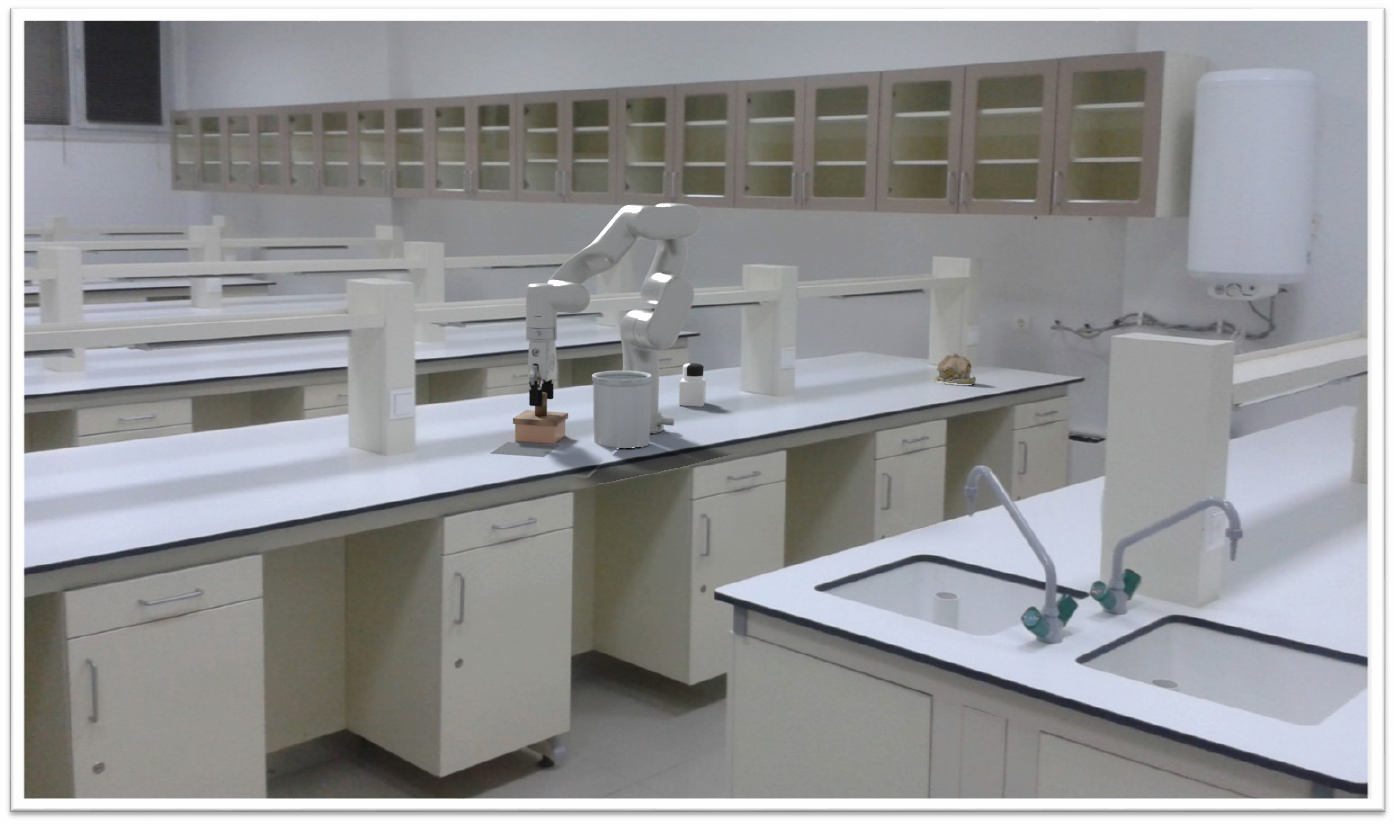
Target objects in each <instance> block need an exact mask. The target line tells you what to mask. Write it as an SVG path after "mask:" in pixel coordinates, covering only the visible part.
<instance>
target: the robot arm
mask: <svg viewBox="0 0 1394 824" xmlns="http://www.w3.org/2000/svg"><path fill="white" fill-rule="evenodd" d="M702 217H703V216H702V213H701V212H700V211H699V209H698V208H697V207H696V206H694V205H692V204H689V203H688V204H687V203H676V202H661V203H658V204H656V205H646V204H645V205H643V204H627V205H625V206H623V207H621V208H620V209H619V210H618V211H617V213H616V214H615V215H614V217H613V218H611V220H610V221H609V222H608V223H607V225H606V226H605V227H604V228H603V229H602V231H601V232H600V233H599V234H598V235H597V236H596V238H594V240H593V241H592V242H591V243H590V244H589V245H588V246H586V247H584V248H583V249H581V250H580V251H578V252H577V253H575V255H573V256H571V257H570V258H568V259H567V260H566V261H565V262H564V263H563V264H562V265H561V266H560V267H559V268H558V269H556V271H555V272H554V273H553V274H552V276H551V277H550V278H549V280H547V282H546V283H545V282H544V283H542V282H538V283H537V282H535V283H530V284H528V285H527V286H526V288H525V340H526V341H528V358H527V359H528V361H527V376H528V380H529V381H528V384H529V387H528V391H529V393H528V394H529V395H528V401H529V402H528V404H529V406H530V407H535V406H542V405H543V398H542V392H544V393H547V400H553V399H554V381H555V380H554V378H556V376H558V367H557V366H558V364H557V360H558V359H557V347H556V341H557V339H558V335H557V334H558V333H557V332H558V329H557V328H558V327H557V325H558V315H557V314H558V313H565V314H578V313H581V312H583V311H584V310H586V309H587V308H588V307H589V305H590V302H591V294H590V292H589V290H588V289H587V288H586V287H585V286H584V285H583V283H585V282H586V281H587V280H589V279H590V278H592V277H594V276H596V275H600V274H603V273H605V272H608V271H610V270H612V269H614V268H616V267H617V266H618V265H620V264H621V261H623V260H624V259H625V257H626V256H627V255H628V254H629V252H630V251H631V249H632V248H634V246H635V245H636V244H637V242H639V240H645V241H656V250H655V255H654V257H653V260H652V263H651V265H650V267H649V269H648V271H647V274H646V276H645V279H644V281H643V283H642V286H641V289H640V297H641V300H642V302H643V303H644V304H645V305H647V306H649V307H651V308H654V310H646V309H641V308H639V309H633V310H631V311H629V312H627V313H626V314H625V315H624V316H623V318H622V319H621V322H620V326H619V327H620V328H619V333H620V335H619V336H620V341H621V348H622V371H639V372H646V373H649V374H651V375H652V381H651V398H650V433H649V435H651V433H652V434H657V433H661V432H663V431H664V427H665V426H672V427H673V426H674V425H675V418H674V417H669V416H668V417H666V416H662V411H659V397H660V395H659V393H660V387H659V386H660V357H659V352H663V351H667V350H669V349H670V348H671V347H673V346H674V345H675V343H676V341H677V340H678V338H679V336H680V334H681V331H682V329H683V327H684V324H685V322H686V320H687V318H688V315H689V313H690V311H691V308H692V306H693V302H694V297H695V292H694V286H693V284H692V282H691V281H690V279H689V278H687V277H686V276H684V275H683V274H684V272H685V269H686V267H687V264H688V260H689V254H690V253H689V245H688V241H687V239H690V238H692V237H694V236H696V235H697V234H698V233H699V231H700V230H701V228H702V225H703V218H702ZM534 316H541V317H534Z"/></svg>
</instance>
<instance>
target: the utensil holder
mask: <svg viewBox="0 0 1394 824" xmlns="http://www.w3.org/2000/svg"><path fill="white" fill-rule="evenodd" d="M591 379H592V398H593V399H592V401H593V402H592V403H593V405H592V406H593V407H592V409H593V411H592V412H593V439H594V440H593V441H594V443H595V444H596V445H599V446H603V447H607V448H608V447H609V448H632V447H641V448H645V447H647V446H648V445H649V443H650V434H649V433H650V398H651V381H652V375H651V374H649V373H646V372H639V371H623V370H606V371H599V372H595V373H593V374H592V375H591ZM644 446H645V447H644Z"/></svg>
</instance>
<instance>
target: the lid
mask: <svg viewBox="0 0 1394 824" xmlns="http://www.w3.org/2000/svg"><path fill="white" fill-rule="evenodd" d="M542 398H543V405H542V406H534V410H528V409H526V410H524V411H523V412H521V413H519V414H517V415H516V416H514V417H513V418H512V424H513V425H515V424H523V425H539V426H555V427H556V426H558V425H559V424H561V423H562V422H563V421H565V422H566V420H567V419H569V412H563V411H562V412H561V411H559V412H558V411H548V399H547V393H544V392H542Z"/></svg>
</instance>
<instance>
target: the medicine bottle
mask: <svg viewBox="0 0 1394 824" xmlns="http://www.w3.org/2000/svg"><path fill="white" fill-rule="evenodd" d="M678 384H679V385H678V387H679V391H678V406H679V405H682V406H681V407H700V408H701V407H704V406H705V403H706V388H707V387H706V386H707V379H705V378H704V365H702V364H701V363H696V362H692V363H691V362H689V363H685V364H683V365H682V378H681V380H680V381H679V383H678Z"/></svg>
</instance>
